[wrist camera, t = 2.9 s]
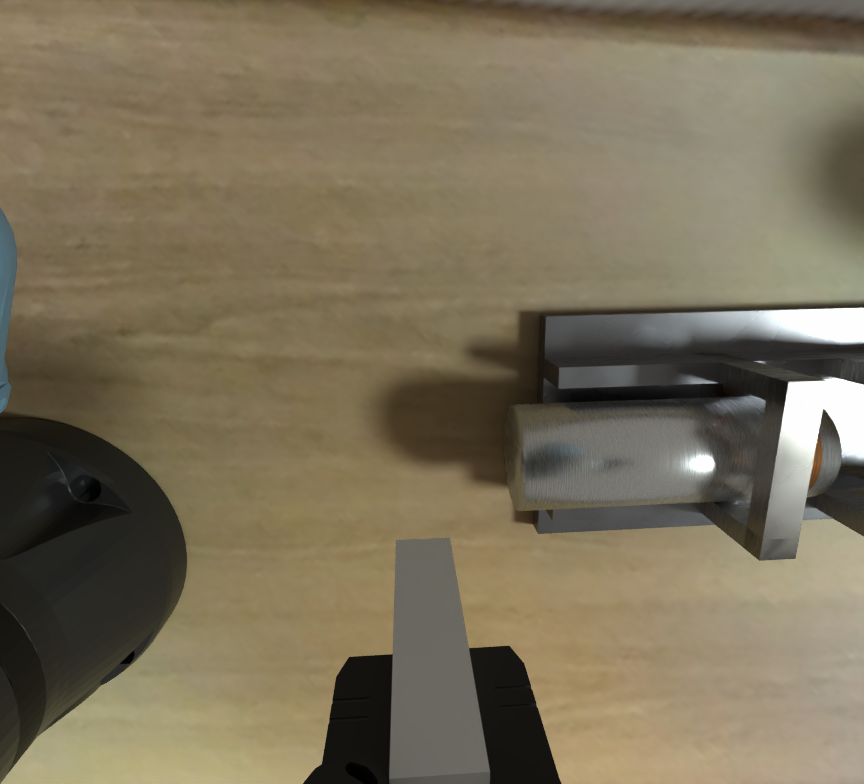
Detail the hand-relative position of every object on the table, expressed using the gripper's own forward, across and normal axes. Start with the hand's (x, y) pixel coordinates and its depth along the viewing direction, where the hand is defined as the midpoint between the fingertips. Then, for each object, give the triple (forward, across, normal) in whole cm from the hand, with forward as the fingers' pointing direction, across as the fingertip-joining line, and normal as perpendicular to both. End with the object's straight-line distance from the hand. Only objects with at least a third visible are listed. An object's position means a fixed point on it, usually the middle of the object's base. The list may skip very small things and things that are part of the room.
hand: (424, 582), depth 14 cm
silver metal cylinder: (+12, +12, 0) cm, 17 cm away
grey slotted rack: (+13, +17, 0) cm, 21 cm away
